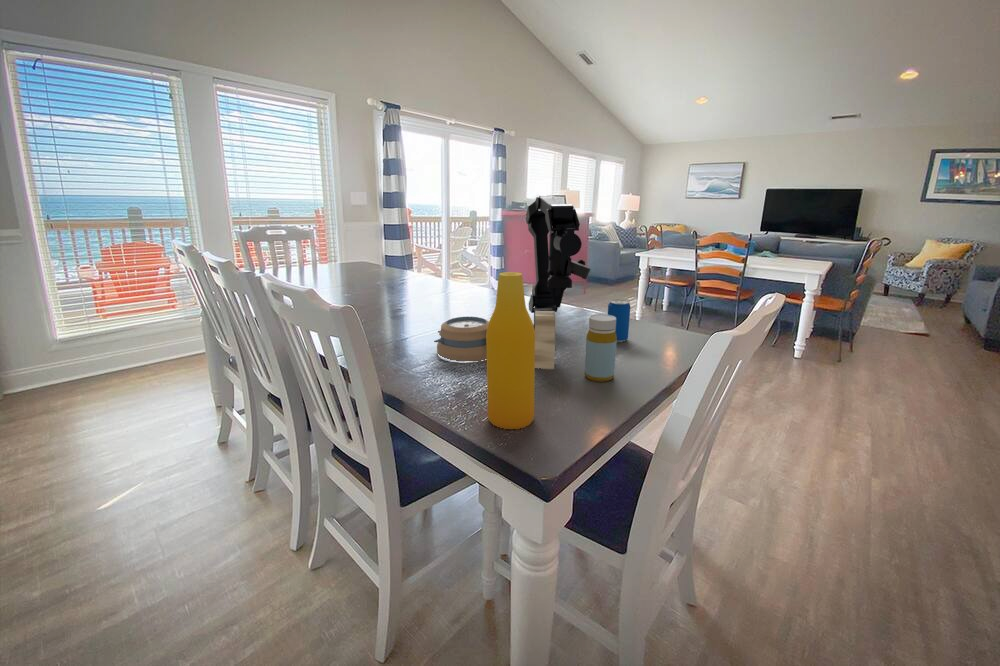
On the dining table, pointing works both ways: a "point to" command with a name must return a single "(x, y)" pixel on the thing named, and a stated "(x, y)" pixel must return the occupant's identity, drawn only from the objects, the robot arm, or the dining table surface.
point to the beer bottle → (510, 356)
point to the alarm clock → (463, 339)
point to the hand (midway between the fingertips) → (557, 307)
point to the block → (544, 339)
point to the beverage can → (620, 317)
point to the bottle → (601, 348)
